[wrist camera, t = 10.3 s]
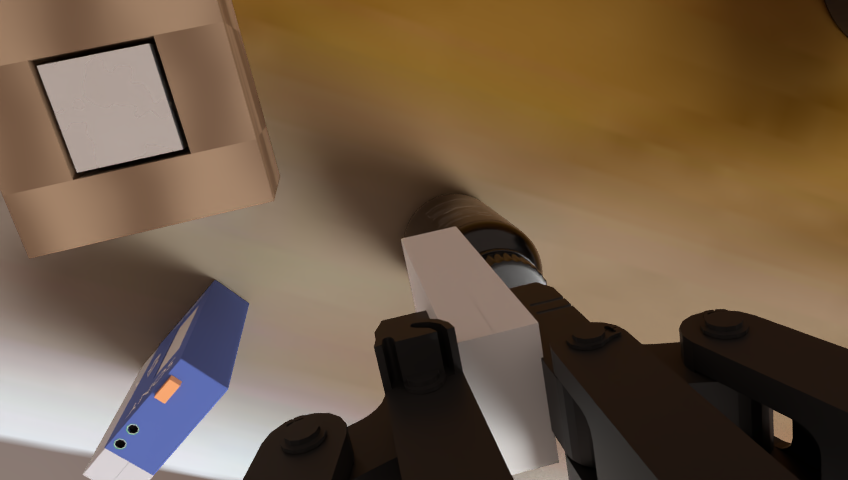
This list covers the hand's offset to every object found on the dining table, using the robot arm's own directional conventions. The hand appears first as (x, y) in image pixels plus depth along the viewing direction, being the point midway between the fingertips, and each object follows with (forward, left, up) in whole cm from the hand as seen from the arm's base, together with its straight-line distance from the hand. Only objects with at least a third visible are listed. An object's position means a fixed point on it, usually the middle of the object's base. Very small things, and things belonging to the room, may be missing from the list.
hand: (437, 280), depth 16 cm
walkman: (+13, +9, -25) cm, 29 cm away
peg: (+11, -6, -23) cm, 27 cm away
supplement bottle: (-5, +7, -25) cm, 26 cm away
